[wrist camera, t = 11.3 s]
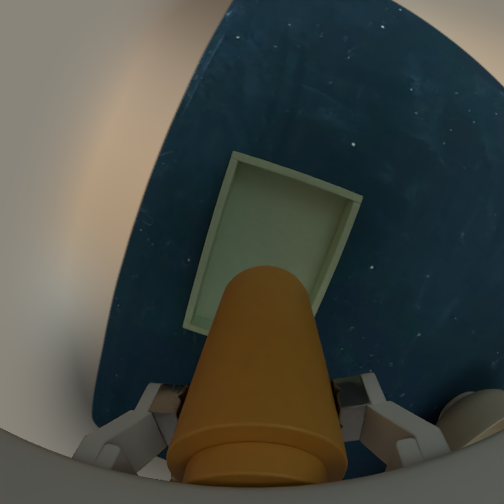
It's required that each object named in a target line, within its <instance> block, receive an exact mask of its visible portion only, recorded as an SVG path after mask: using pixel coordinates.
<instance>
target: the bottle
mask: <svg viewBox="0 0 504 504" xmlns="http://www.w3.org/2000/svg"><path fill="white" fill-rule="evenodd" d="M166 460H167V465H168V468H169V470H170V472H171V474H172V475H173V477H174V478H175V479H176V480H177V481H178V482H179V483H186V484H195V485H206V486H221V487H286V486H301V485H312V484H321V483H329V482H336V481H341V480H342V478H343V477H344V475H345V473H346V470H347V465H348V461H347V455H346V450H345V446H344V441H343V436H342V431H341V427H340V422H339V418H338V413H337V409H336V404H335V400H334V396H333V391H332V387H331V383H330V379H329V375H328V370H327V366H326V362H325V358H324V354H323V350H322V346H321V342H320V338H319V334H318V331H317V327H316V323H315V319H314V315H313V312H312V308H311V304H310V300H309V297H308V293H307V291H306V289H305V287H304V285H303V284H302V282H301V281H300V280H299V279H298V278H297V277H296V276H295V275H293V274H292V273H290V272H288V271H287V270H285V269H282V268H279V267H275V266H255V267H252V268H248V269H246V270H244V271H242V272H240V273H239V274H237V275H236V276H235V277H234V278H233V279H232V280H231V281H230V282H229V283H228V284H227V286H226V288H225V290H224V292H223V295H222V298H221V301H220V303H219V306H218V309H217V312H216V314H215V317H214V320H213V323H212V325H211V328H210V331H209V334H208V337H207V339H206V342H205V345H204V348H203V351H202V353H201V356H200V359H199V362H198V365H197V368H196V370H195V373H194V376H193V379H192V382H191V385H190V387H189V390H188V393H187V396H186V399H185V402H184V405H183V407H182V410H181V413H180V416H179V419H178V422H177V425H176V428H175V431H174V433H173V436H172V439H171V442H170V445H169V448H168V451H167V456H166Z"/></svg>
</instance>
